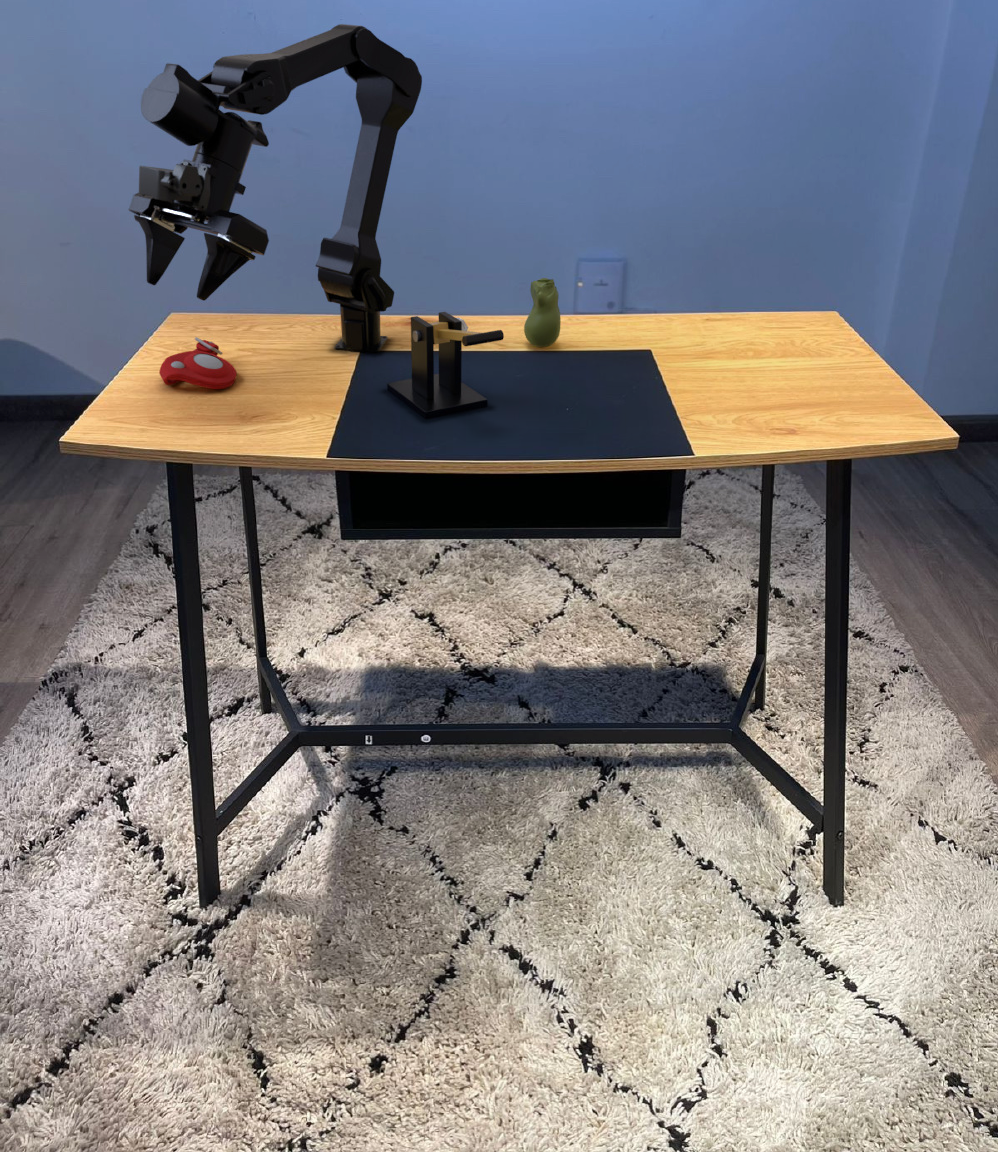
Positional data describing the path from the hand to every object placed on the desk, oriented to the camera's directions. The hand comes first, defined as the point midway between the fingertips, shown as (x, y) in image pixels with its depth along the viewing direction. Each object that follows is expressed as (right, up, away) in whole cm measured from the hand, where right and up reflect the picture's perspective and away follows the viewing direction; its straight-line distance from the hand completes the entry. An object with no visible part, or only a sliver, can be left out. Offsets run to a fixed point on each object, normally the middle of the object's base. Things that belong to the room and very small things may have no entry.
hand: (175, 291), depth 121 cm
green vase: (+45, 0, +31) cm, 55 cm away
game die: (+32, +2, +33) cm, 46 cm away
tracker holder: (-1, -7, +17) cm, 19 cm away
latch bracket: (+30, -11, +12) cm, 35 cm away
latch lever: (+34, -6, +3) cm, 34 cm away
